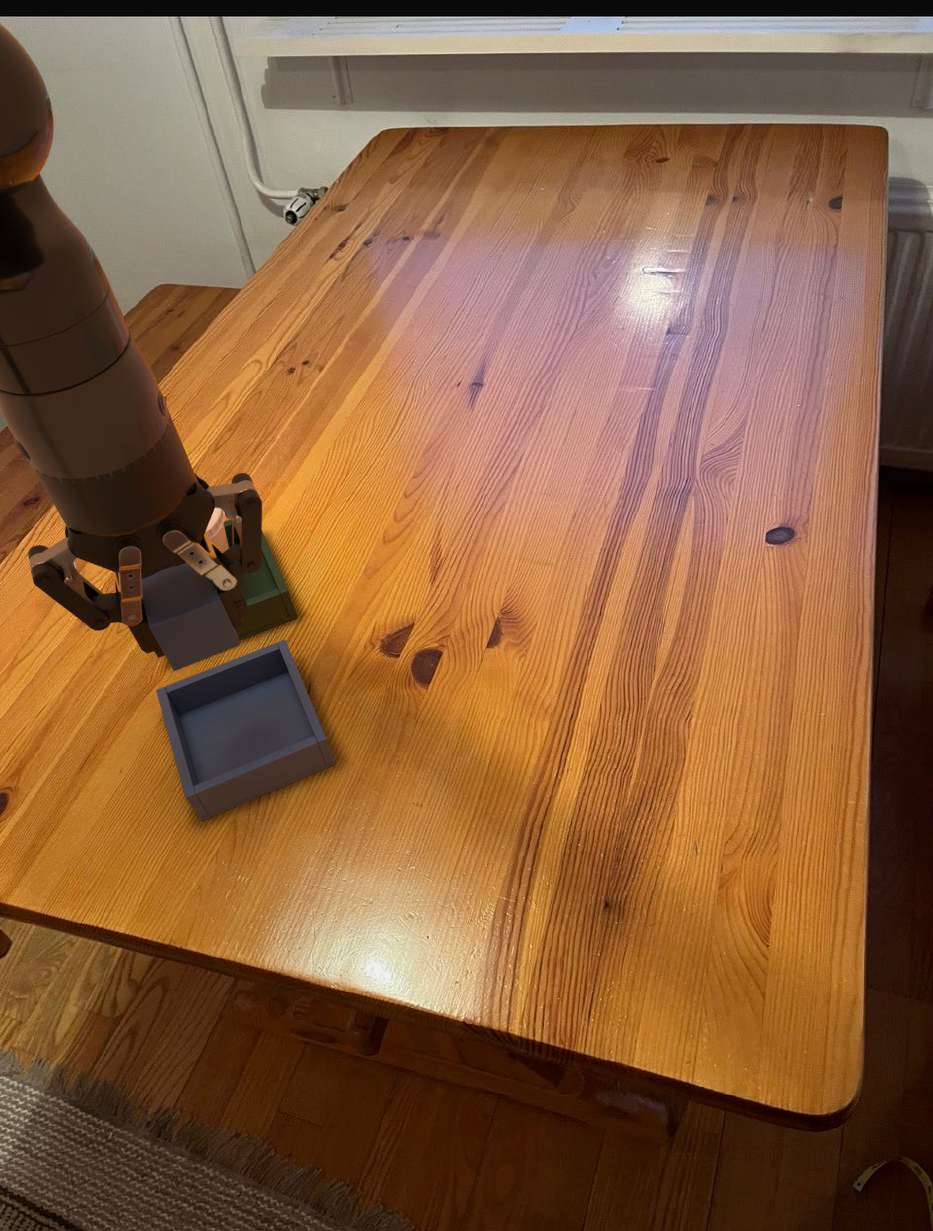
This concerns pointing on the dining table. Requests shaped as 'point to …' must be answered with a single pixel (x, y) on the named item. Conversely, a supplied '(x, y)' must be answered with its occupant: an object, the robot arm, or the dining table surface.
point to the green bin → (263, 593)
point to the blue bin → (243, 730)
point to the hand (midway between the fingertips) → (197, 631)
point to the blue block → (187, 616)
